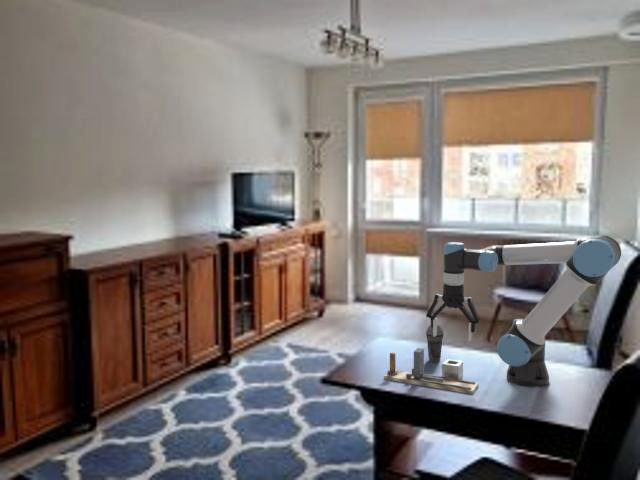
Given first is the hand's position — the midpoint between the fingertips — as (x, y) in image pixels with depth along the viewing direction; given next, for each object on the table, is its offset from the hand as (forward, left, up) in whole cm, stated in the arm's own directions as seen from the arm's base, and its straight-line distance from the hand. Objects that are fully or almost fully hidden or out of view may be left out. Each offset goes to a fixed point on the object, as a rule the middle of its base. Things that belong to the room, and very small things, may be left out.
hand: (452, 338), depth 220 cm
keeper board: (+6, +9, -16) cm, 19 cm away
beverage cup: (+12, -16, -16) cm, 25 cm away
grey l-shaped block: (+6, +9, -14) cm, 18 cm away
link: (0, 0, -16) cm, 16 cm away
